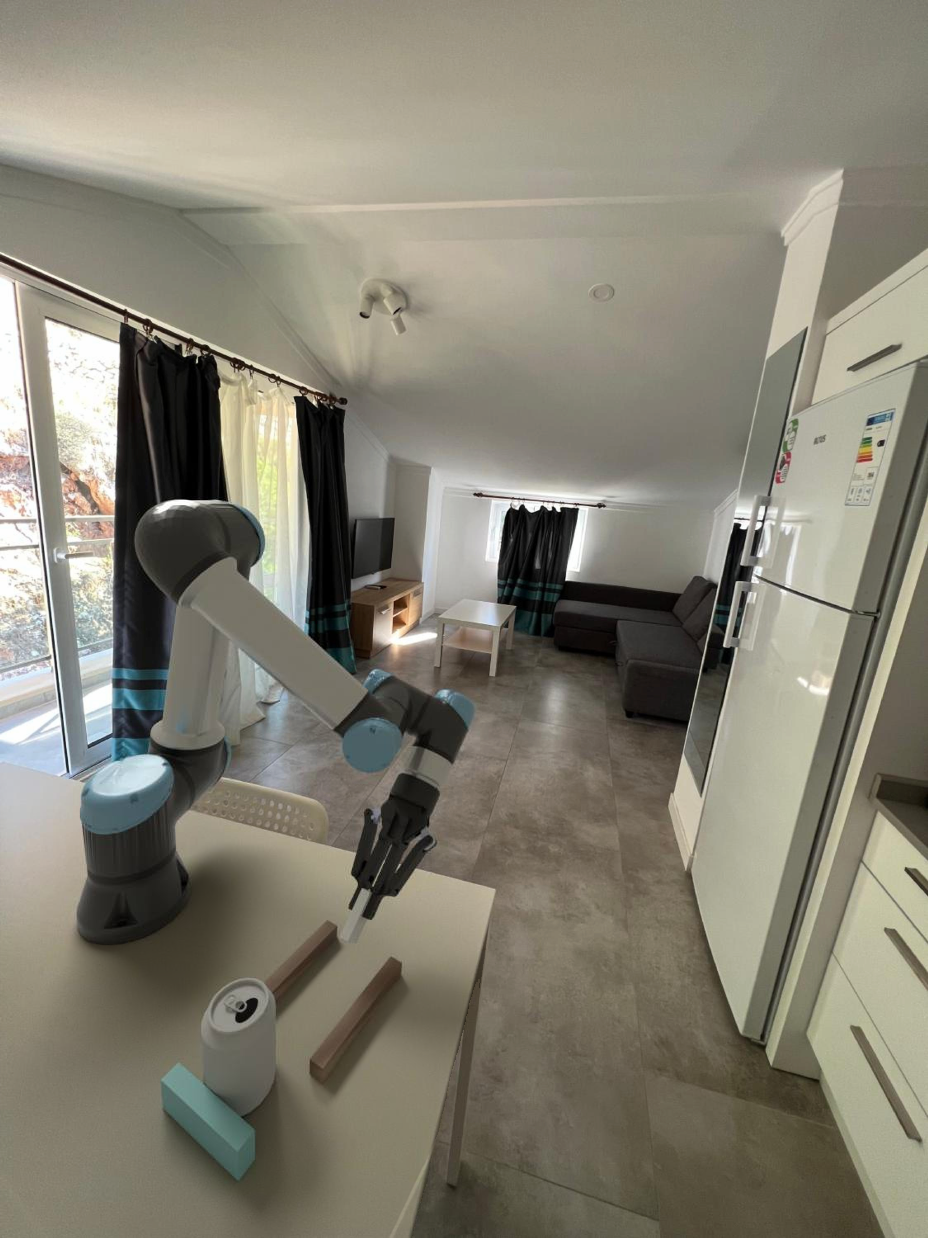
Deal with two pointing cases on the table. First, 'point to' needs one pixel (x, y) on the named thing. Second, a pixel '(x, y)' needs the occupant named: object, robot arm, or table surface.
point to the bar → (208, 1120)
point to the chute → (358, 1011)
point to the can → (240, 1044)
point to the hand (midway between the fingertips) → (348, 940)
